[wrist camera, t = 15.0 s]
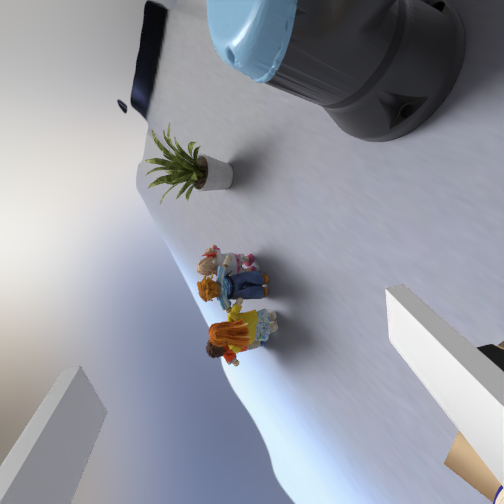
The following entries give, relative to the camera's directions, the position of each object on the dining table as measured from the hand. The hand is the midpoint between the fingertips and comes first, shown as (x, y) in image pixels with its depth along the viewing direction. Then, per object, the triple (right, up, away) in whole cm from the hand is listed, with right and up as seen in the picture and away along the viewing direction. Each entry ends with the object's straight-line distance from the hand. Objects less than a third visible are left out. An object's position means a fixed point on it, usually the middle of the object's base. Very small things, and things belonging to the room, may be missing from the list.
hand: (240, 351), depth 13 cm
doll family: (+3, -4, +43) cm, 43 cm away
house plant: (-5, +21, +51) cm, 56 cm away
